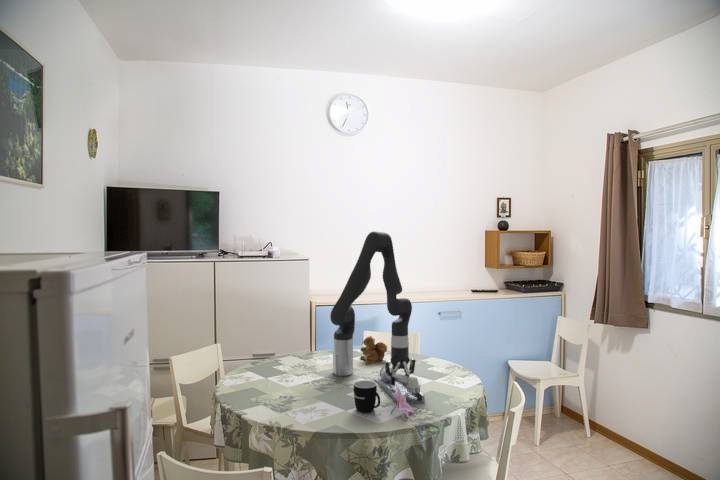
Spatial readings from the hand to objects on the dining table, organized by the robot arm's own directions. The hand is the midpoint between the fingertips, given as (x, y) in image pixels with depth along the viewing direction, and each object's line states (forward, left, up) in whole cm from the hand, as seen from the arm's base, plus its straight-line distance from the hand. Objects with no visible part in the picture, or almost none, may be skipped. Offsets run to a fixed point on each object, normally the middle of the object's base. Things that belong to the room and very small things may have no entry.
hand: (400, 383), depth 194 cm
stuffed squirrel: (+4, +49, -4) cm, 50 cm away
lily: (-8, -22, -4) cm, 24 cm away
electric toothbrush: (0, 0, -1) cm, 1 cm away
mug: (-19, -15, -4) cm, 25 cm away
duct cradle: (0, +3, -4) cm, 4 cm away
